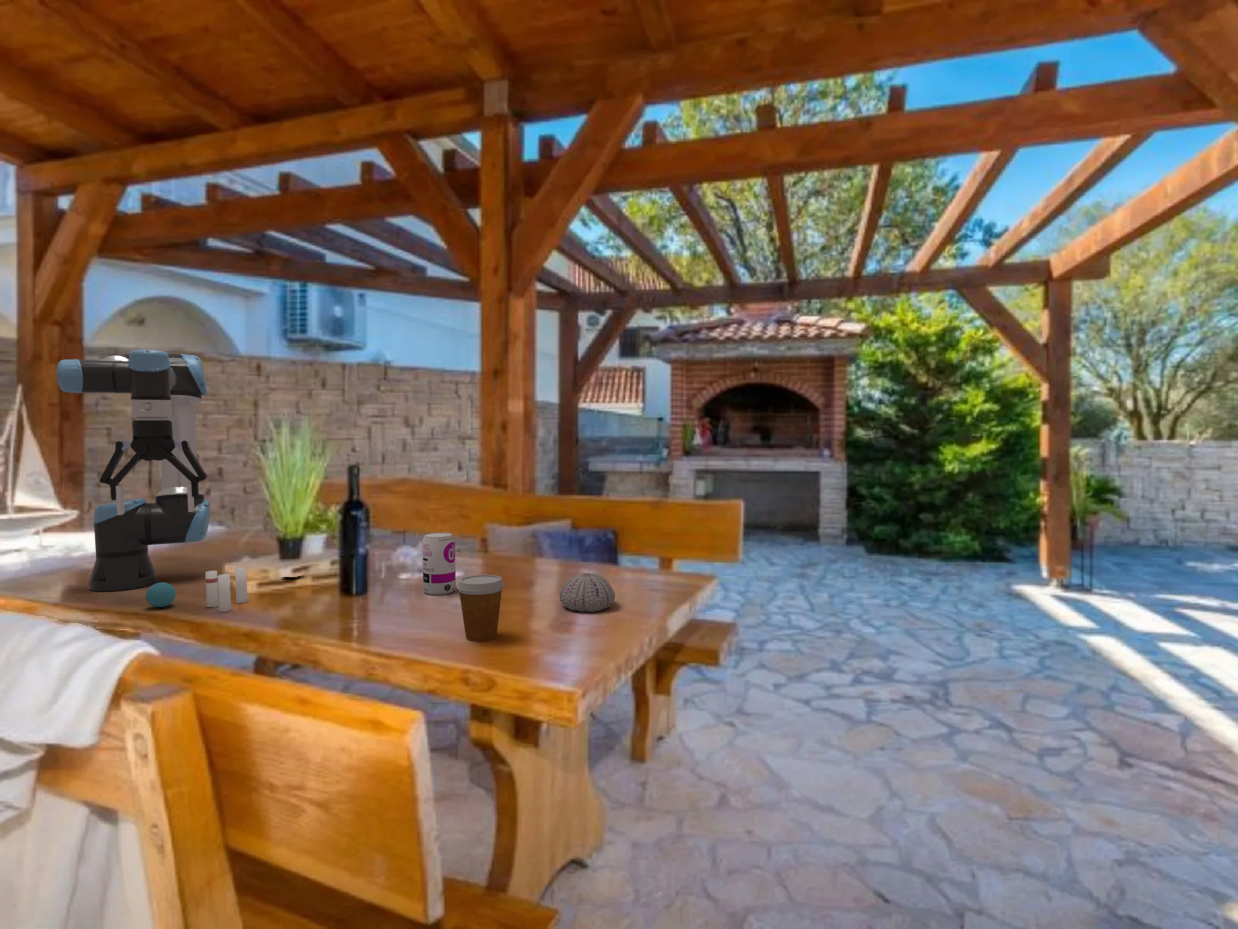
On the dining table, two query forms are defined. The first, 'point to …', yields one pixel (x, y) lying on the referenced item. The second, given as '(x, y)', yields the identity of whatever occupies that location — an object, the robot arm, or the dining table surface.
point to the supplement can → (439, 563)
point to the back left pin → (241, 584)
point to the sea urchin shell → (587, 593)
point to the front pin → (211, 588)
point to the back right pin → (224, 592)
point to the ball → (160, 594)
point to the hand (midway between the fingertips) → (156, 512)
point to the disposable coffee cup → (480, 605)
